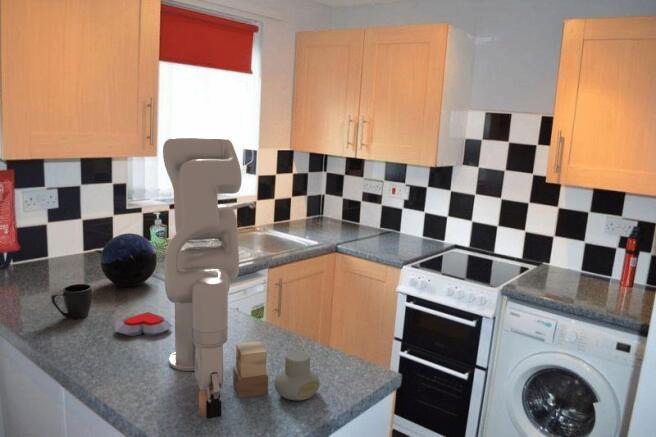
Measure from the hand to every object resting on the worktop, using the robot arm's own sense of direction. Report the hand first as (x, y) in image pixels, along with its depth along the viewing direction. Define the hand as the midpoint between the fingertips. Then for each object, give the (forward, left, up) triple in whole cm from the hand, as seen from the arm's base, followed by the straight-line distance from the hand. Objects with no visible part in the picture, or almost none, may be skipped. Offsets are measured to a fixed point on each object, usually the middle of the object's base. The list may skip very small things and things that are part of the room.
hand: (209, 405), depth 119 cm
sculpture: (-52, -11, -2) cm, 53 cm away
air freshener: (-2, +21, -2) cm, 21 cm away
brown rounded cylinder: (0, 0, -2) cm, 2 cm away
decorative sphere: (-96, -14, -2) cm, 97 cm away
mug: (-67, -32, -2) cm, 74 cm away
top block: (-7, +11, +3) cm, 14 cm away
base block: (-7, +11, -2) cm, 13 cm away
